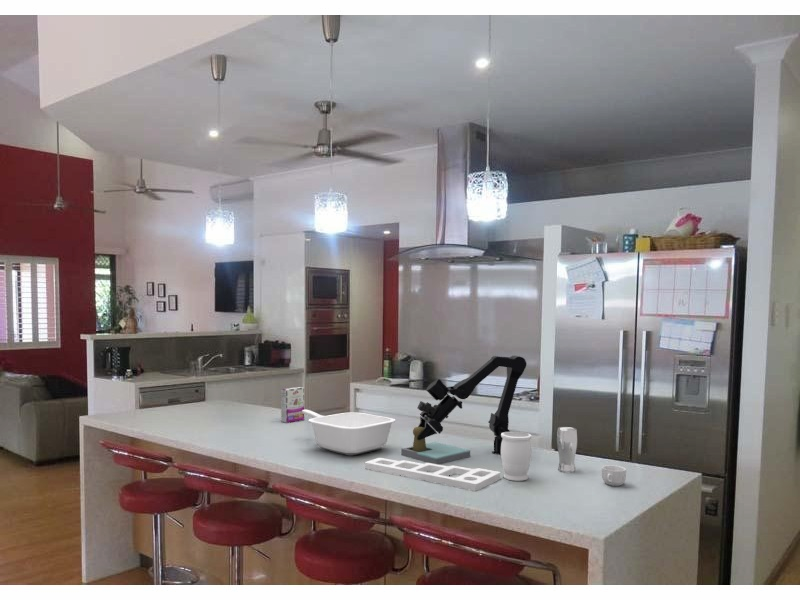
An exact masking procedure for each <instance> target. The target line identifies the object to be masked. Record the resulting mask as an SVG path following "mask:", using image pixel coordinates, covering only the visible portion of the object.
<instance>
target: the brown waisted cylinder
mask: <svg viewBox="0 0 800 600" xmlns="http://www.w3.org/2000/svg"><path fill="white" fill-rule="evenodd" d="M423 429H424V427H418V426H417V427H414V428H413V430H412V433H413V436H414V437H413V442H412V446H413V449H412V451H416V452H423V451H426V444H427V443H426V438H423V439H421V440H418V439H417V437H418V436H419V434H420V433H421V432H422V430H423Z"/></svg>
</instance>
